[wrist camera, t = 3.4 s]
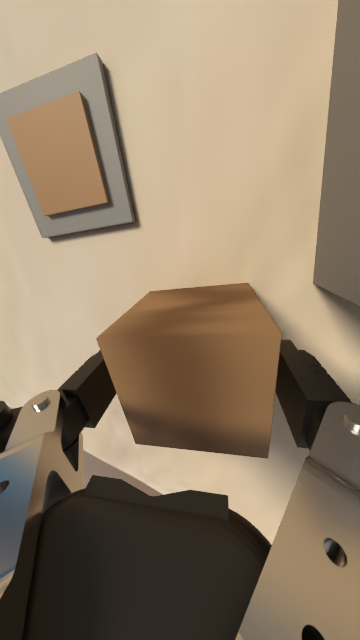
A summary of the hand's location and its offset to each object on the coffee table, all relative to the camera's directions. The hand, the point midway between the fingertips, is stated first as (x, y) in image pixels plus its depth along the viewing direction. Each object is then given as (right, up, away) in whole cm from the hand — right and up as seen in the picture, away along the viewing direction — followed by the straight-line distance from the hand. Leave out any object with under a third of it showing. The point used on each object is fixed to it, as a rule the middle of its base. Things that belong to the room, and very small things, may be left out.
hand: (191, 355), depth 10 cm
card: (-6, +10, 0) cm, 12 cm away
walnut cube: (+1, +1, +3) cm, 3 cm away
